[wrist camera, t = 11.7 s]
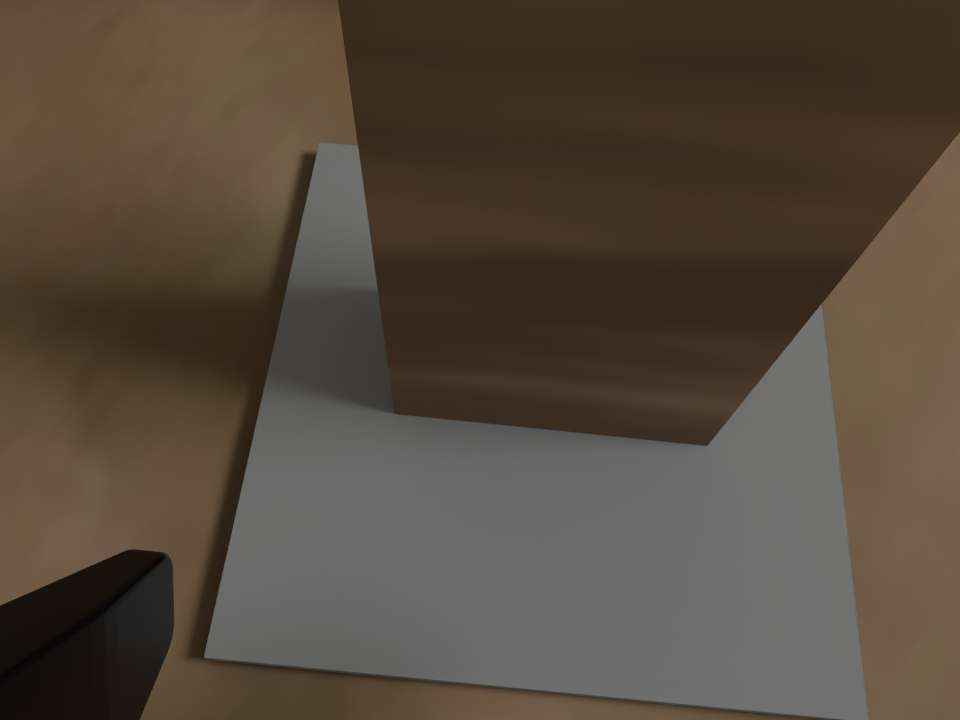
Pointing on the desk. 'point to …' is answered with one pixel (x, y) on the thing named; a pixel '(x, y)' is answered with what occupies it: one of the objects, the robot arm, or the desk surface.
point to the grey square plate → (530, 525)
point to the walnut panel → (629, 192)
